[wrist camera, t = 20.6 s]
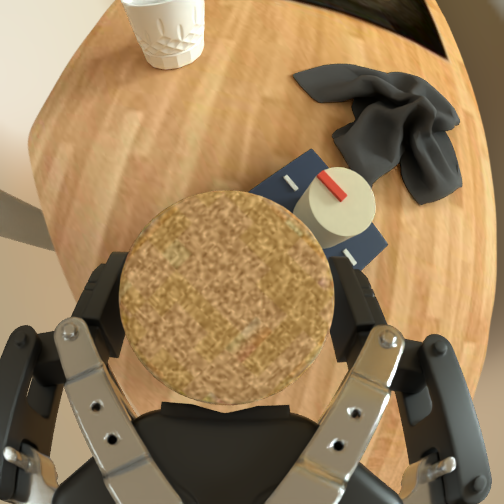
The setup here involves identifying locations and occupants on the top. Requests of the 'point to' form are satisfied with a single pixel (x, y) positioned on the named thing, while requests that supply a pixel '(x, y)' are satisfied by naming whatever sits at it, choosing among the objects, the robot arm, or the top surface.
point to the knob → (336, 206)
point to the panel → (291, 190)
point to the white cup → (167, 30)
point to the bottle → (226, 297)
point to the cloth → (391, 126)
